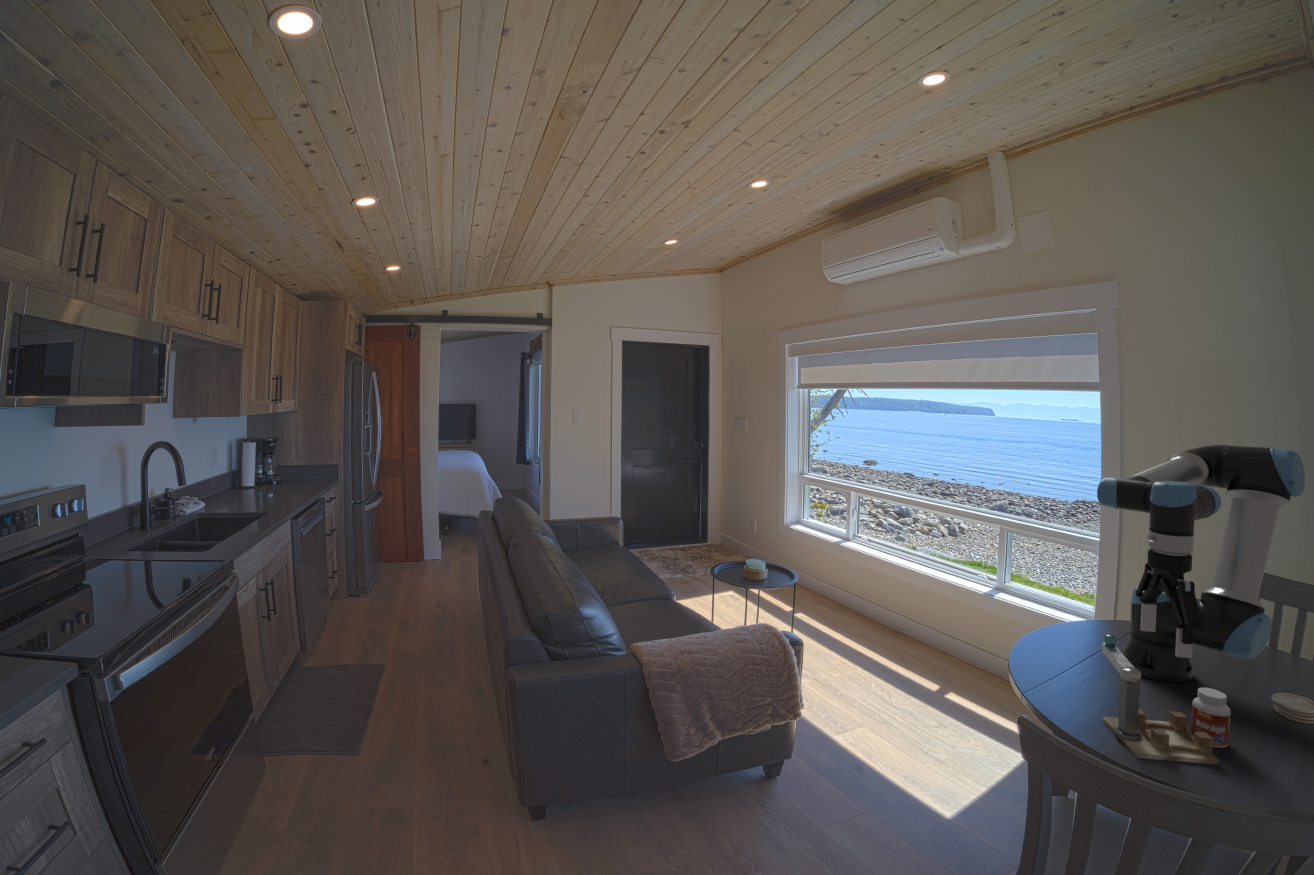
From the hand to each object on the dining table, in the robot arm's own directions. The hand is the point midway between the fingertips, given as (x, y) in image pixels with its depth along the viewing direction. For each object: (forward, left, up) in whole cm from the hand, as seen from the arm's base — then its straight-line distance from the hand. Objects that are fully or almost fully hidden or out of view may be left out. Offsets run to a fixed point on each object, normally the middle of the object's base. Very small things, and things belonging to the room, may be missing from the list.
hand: (1164, 643), depth 134 cm
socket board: (+4, +6, -20) cm, 21 cm away
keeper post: (+10, +6, -20) cm, 23 cm away
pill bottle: (-7, +4, -20) cm, 22 cm away
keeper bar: (+9, 0, -6) cm, 11 cm away
